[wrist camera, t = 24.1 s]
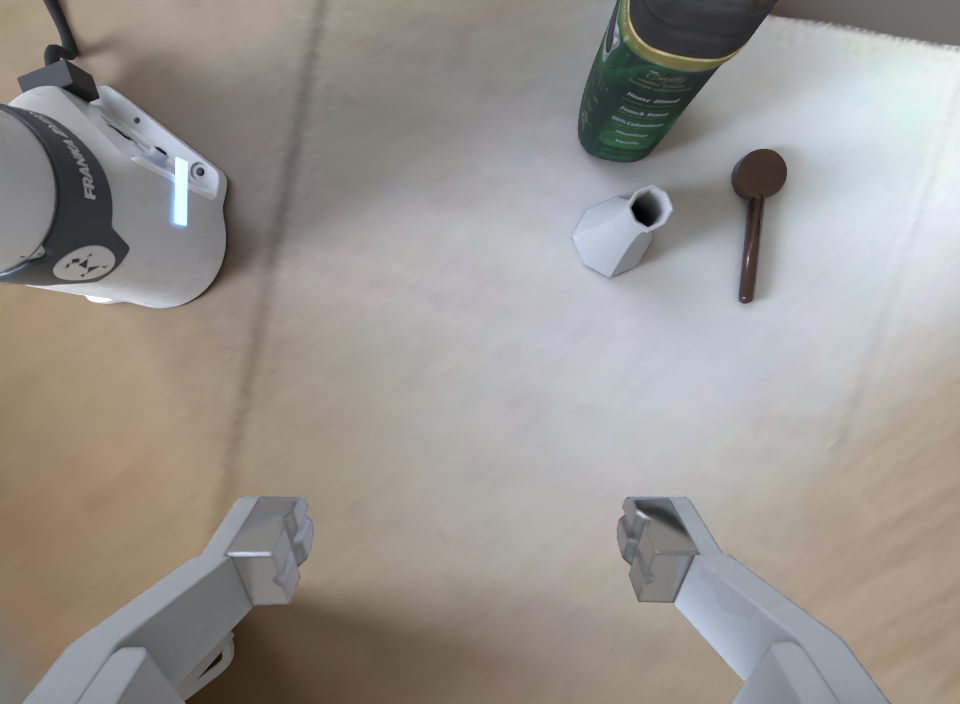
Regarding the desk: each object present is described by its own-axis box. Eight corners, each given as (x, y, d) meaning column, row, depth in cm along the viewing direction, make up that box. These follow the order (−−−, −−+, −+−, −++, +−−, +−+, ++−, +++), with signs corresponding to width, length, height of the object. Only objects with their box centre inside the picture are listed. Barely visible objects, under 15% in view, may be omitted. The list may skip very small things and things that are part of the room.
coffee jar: (650, 172, 38) (796, 26, 19) (568, 157, 38) (635, -2, 20) (674, 67, 37) (848, -188, 19) (590, 53, 38) (680, -213, 19)
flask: (607, 291, 39) (645, 279, 29) (557, 236, 39) (578, 205, 29) (664, 240, 38) (723, 210, 28) (614, 184, 38) (655, 134, 28)
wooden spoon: (765, 305, 38) (773, 304, 37) (718, 302, 38) (725, 301, 37) (782, 154, 37) (791, 148, 36) (733, 152, 37) (741, 146, 36)
